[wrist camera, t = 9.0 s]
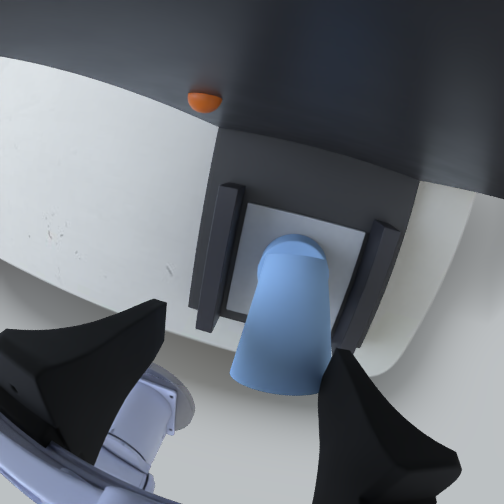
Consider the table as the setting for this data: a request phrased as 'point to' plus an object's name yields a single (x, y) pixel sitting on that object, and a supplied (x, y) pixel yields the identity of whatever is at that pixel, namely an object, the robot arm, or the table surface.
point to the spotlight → (287, 321)
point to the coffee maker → (299, 120)
